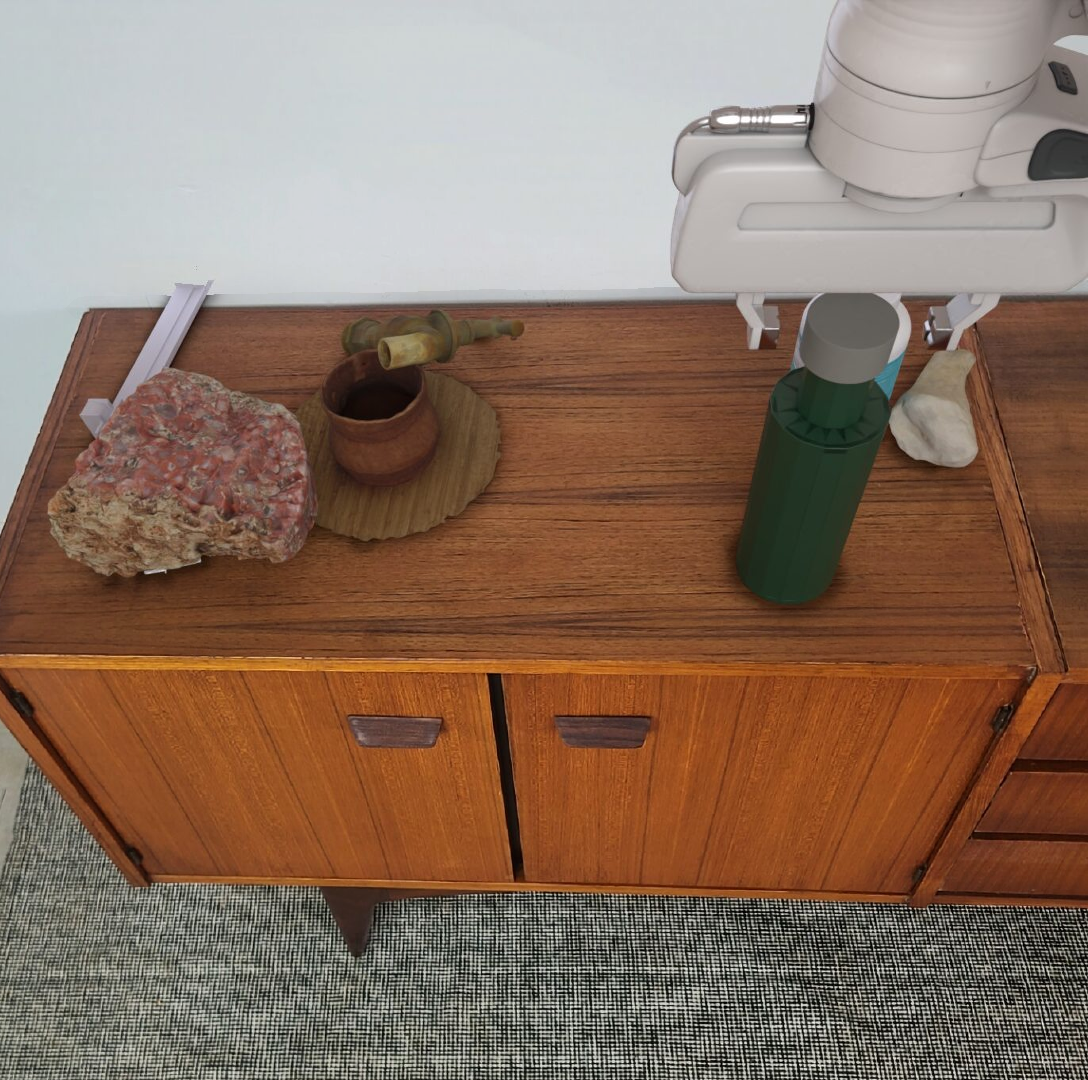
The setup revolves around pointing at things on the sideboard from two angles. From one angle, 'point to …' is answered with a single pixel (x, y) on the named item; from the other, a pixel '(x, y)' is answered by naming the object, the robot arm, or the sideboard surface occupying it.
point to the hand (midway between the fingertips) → (848, 342)
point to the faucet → (421, 337)
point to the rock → (187, 481)
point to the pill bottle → (898, 350)
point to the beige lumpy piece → (938, 413)
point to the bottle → (808, 483)
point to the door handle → (152, 351)
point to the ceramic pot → (395, 447)
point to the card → (162, 570)
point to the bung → (848, 336)
